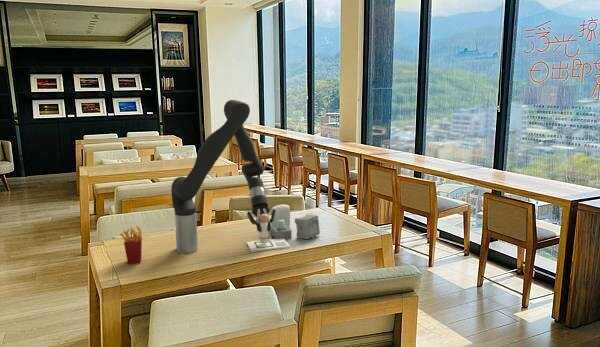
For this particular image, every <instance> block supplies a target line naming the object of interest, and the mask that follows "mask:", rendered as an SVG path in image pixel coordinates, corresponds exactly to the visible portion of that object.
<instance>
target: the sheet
mask: <svg viewBox="0 0 600 347" xmlns="http://www.w3.org/2000/svg"><path fill="white" fill-rule="evenodd" d="M246 245H247V247H248V249H249V250H250V252H251V253H255V252H257V253H258V252H264V251H274V250H280V249H290V248H291V245H290V244H289V243H288V242H287V239H284V238H279V239H274V238H270V239H268V243H265V244H262V243H260V240H253V241H246Z"/></svg>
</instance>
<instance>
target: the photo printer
mask: <svg viewBox="0 0 600 347" xmlns="http://www.w3.org/2000/svg"><path fill="white" fill-rule="evenodd" d="M273 209H275V215H274V220H273V222H272V223H270V225H271V227H275V226H278V220H285V225H287V226H288V227H289V228H290V227H291V207H290V205H288V204H277V205H274V206H273V207H271V208H270V210H273Z"/></svg>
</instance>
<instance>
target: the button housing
mask: <svg viewBox="0 0 600 347" xmlns="http://www.w3.org/2000/svg"><path fill="white" fill-rule="evenodd" d="M270 231H271V232H270V234H271V236H272V237H273V238H272V239H279V238H284V239H285V240H288V239H290V240H291V239H292V229H291V228H290V227H288V226H287V225H285V230H278V226H275V227H271V230H270Z"/></svg>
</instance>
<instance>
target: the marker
mask: <svg viewBox="0 0 600 347" xmlns="http://www.w3.org/2000/svg"><path fill="white" fill-rule="evenodd" d="M268 216H269V214H268V215H267V214H260V215H259V223H260V226H261V232H259V241H260V243H262V244H265V243H268V240H269V231H268Z"/></svg>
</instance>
